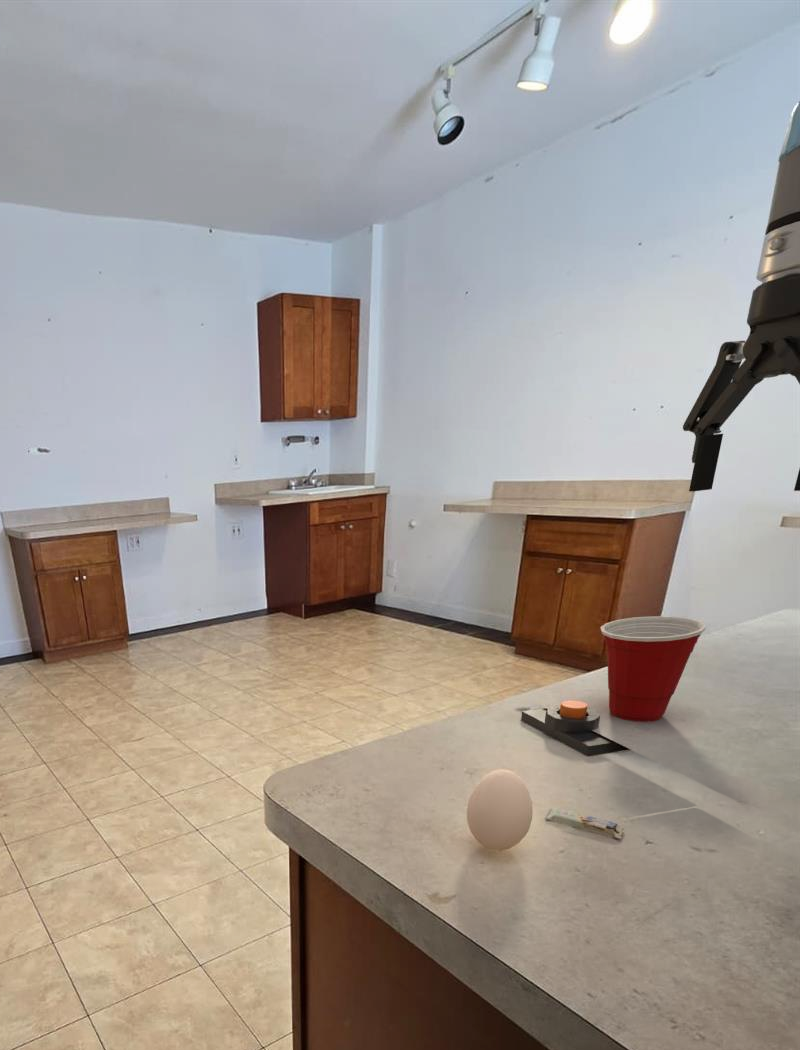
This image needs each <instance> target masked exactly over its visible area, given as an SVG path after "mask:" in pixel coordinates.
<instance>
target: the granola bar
mask: <svg viewBox="0 0 800 1050" xmlns="http://www.w3.org/2000/svg"><path fill="white" fill-rule="evenodd" d="M544 819H546V820H548V821H551V822H555V823H559V824H562V825H565V826H569V827H572V828H574V829H577V830H580V831H584V832H588V833H592V834H596V835H600V836H604V837H608V838H616V839H621V837H622V834H623V832H625V830H626V827H623V826H621V825H619V824H618V822H614V821H611V820H607V819H602V818H599V817H596V816H591V815H587V814H583V813H580V812H574V811H570V810H567V809H561V808H559V809H557V808H550V809H549V810H548V813H547V814H546V816H545V818H544Z"/></svg>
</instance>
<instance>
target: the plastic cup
mask: <svg viewBox="0 0 800 1050" xmlns="http://www.w3.org/2000/svg"><path fill="white" fill-rule="evenodd" d="M707 627H708V626H707V625H706V624H705V623H704V621H701V620H698V619H694V618H688V617H681V616H664V615H663V616H661V615H652V616H651V615H650V616H637V617H635V616H634V617H629V618H628V617H627V618H621V619H615V620H613V621H610V622H606V623H603V625H601V626H600V631H601V635H603V636H604V639H605V641H604V642H605V646H606V647H605V648H606V653H607V687H608V709H609V713H610V715H611V716H614V717H616V718H618V719H621V720H625V721H631V722H639V723H640V722H641V723H646V722H647V723H650V722H656V721H659V720H661V718H662V717H663V716H664V714H665V713H666V710H667V708H668V705H669V703H670V701H671V698H672V696H673V695H674V694H675V692H676V690H677V687H678V685H679V683H680V680H681V678H682V675H683V673H684V671H685V667H686V666H687V663H688V661H689V658H690V656H691V654H692V653H693V651H694V649H695V646H696V644H697V643H698V641H699V639H700V637H701V635H702V634H703V632H705V631H706V629H707Z"/></svg>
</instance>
